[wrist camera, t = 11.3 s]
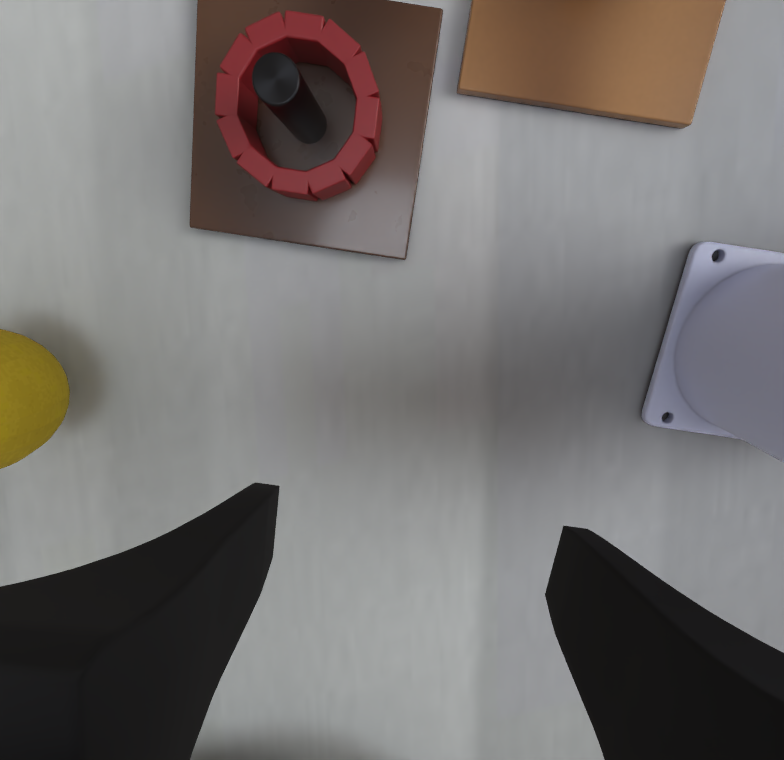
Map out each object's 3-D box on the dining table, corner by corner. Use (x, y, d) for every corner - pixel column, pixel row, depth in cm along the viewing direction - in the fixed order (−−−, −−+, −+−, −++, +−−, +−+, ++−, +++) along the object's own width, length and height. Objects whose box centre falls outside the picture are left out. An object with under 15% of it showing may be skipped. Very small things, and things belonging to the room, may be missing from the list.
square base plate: (442, 16, 18) (457, -86, 13) (405, 259, 20) (406, 261, 15) (204, -22, 18) (119, -140, 12) (195, 228, 20) (119, 218, 15)
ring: (390, 52, 18) (389, 24, 16) (370, 209, 19) (366, 204, 17) (241, 29, 18) (219, -2, 16) (232, 188, 19) (211, 180, 17)
